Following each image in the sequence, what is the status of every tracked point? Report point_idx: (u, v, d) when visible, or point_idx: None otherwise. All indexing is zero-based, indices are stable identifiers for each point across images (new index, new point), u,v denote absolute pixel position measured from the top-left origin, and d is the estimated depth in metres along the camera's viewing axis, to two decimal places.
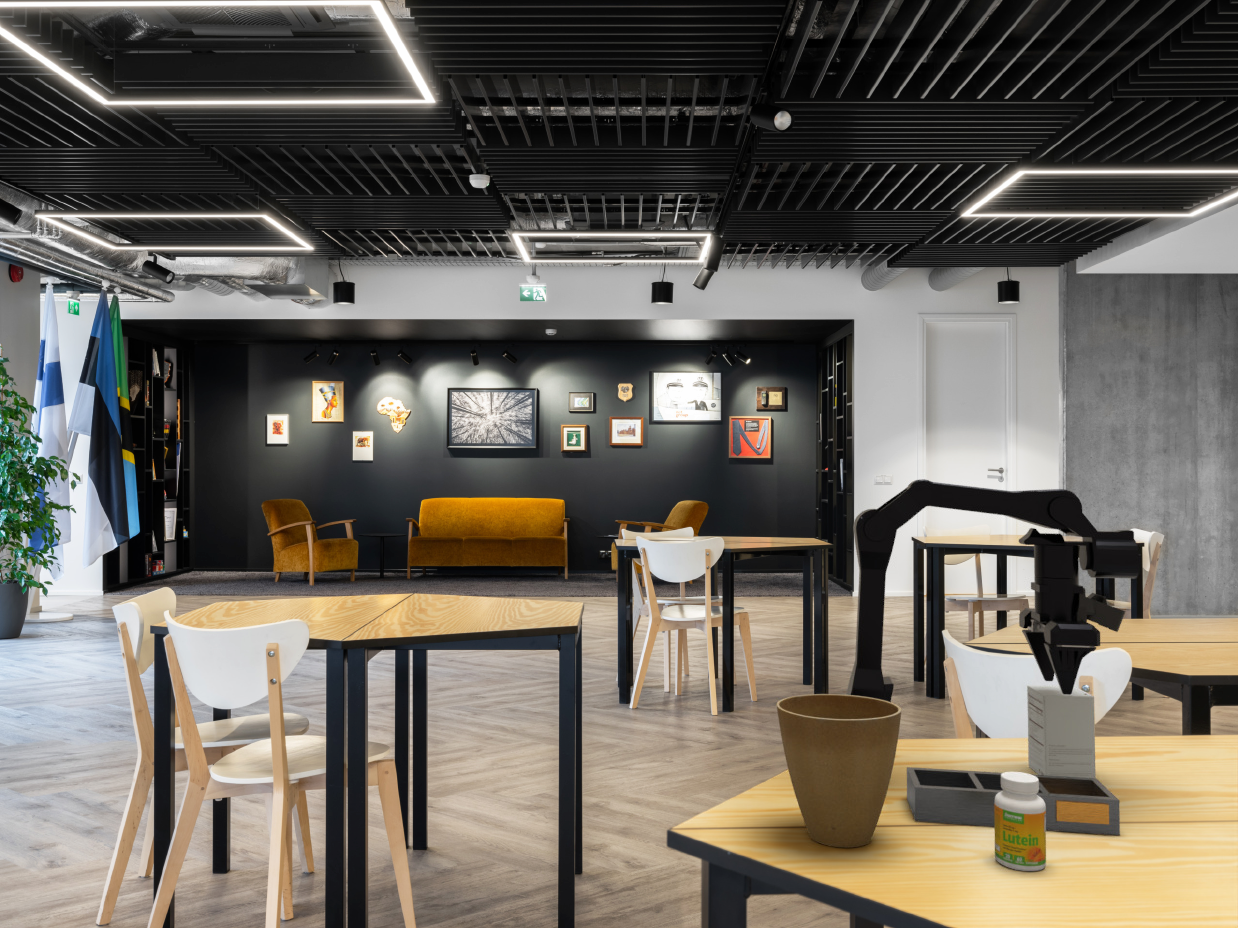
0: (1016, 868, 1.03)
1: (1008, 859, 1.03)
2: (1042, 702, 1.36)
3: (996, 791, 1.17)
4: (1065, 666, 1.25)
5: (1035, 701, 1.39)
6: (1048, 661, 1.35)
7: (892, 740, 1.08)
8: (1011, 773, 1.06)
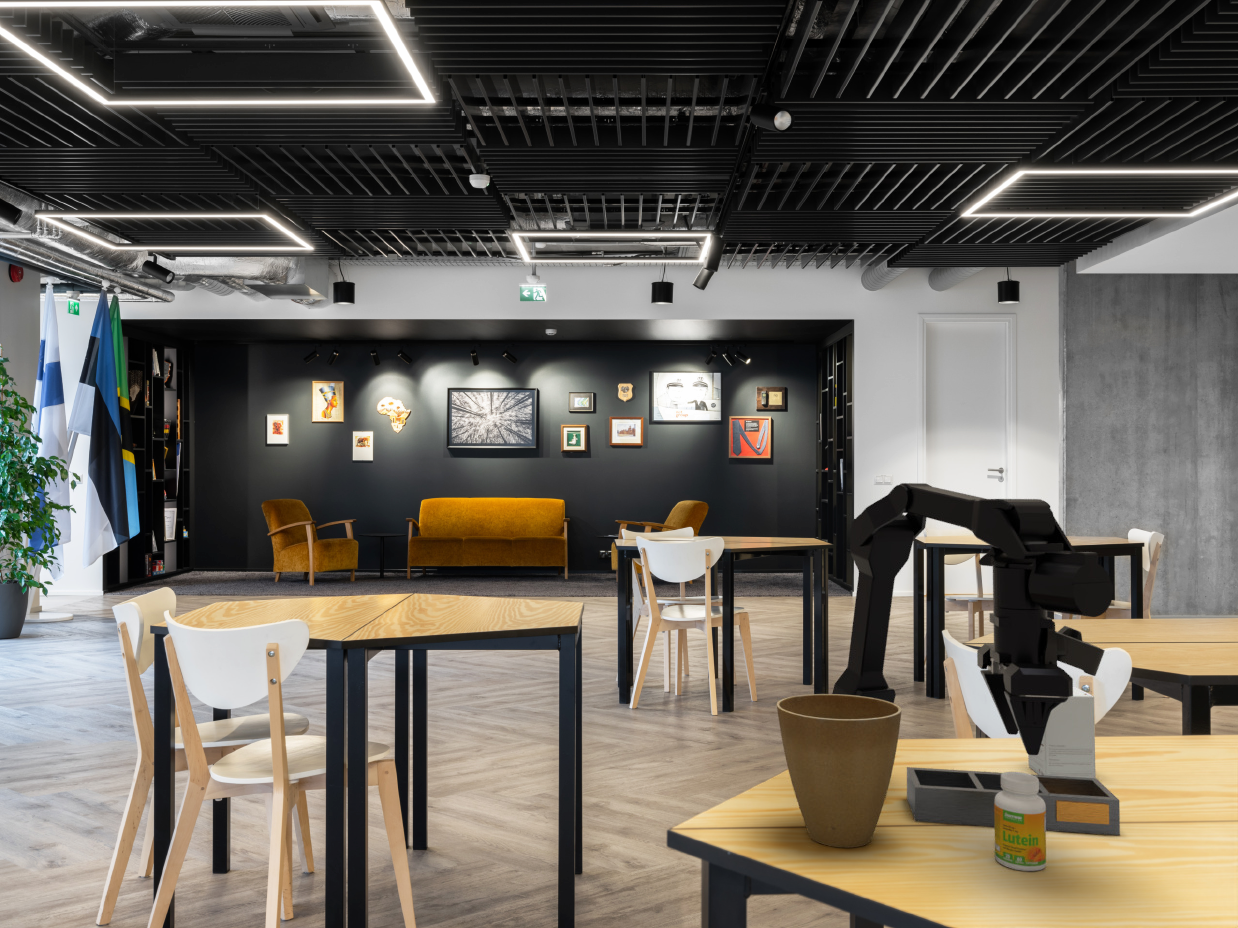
0: (1016, 868, 1.03)
1: (1008, 859, 1.03)
2: None
3: (996, 791, 1.17)
4: (1030, 720, 1.00)
5: None
6: (1011, 710, 1.10)
7: (892, 740, 1.08)
8: (1011, 773, 1.06)
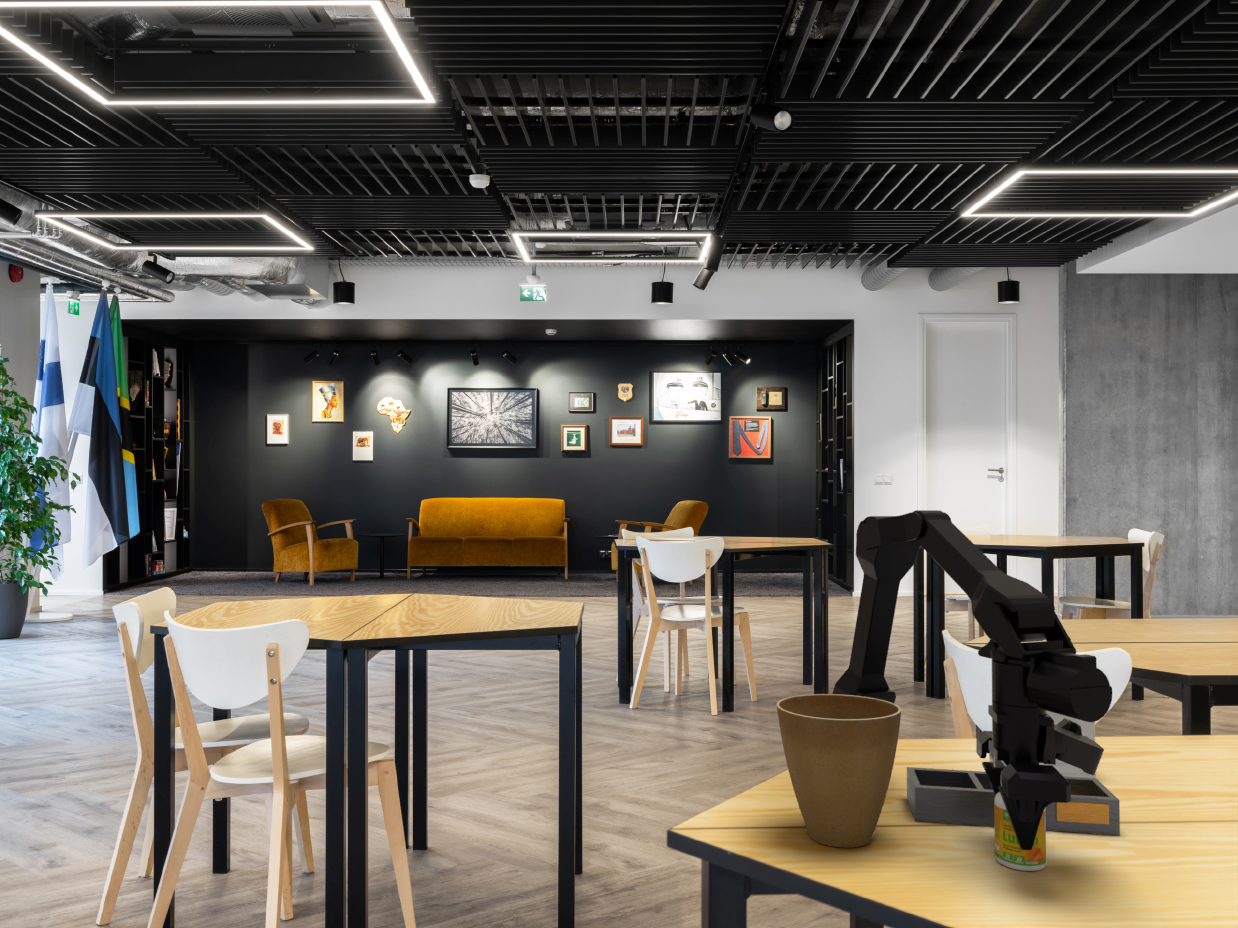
0: (1016, 868, 1.03)
1: (1008, 859, 1.03)
2: None
3: None
4: (1024, 816, 1.01)
5: None
6: None
7: (892, 740, 1.08)
8: None
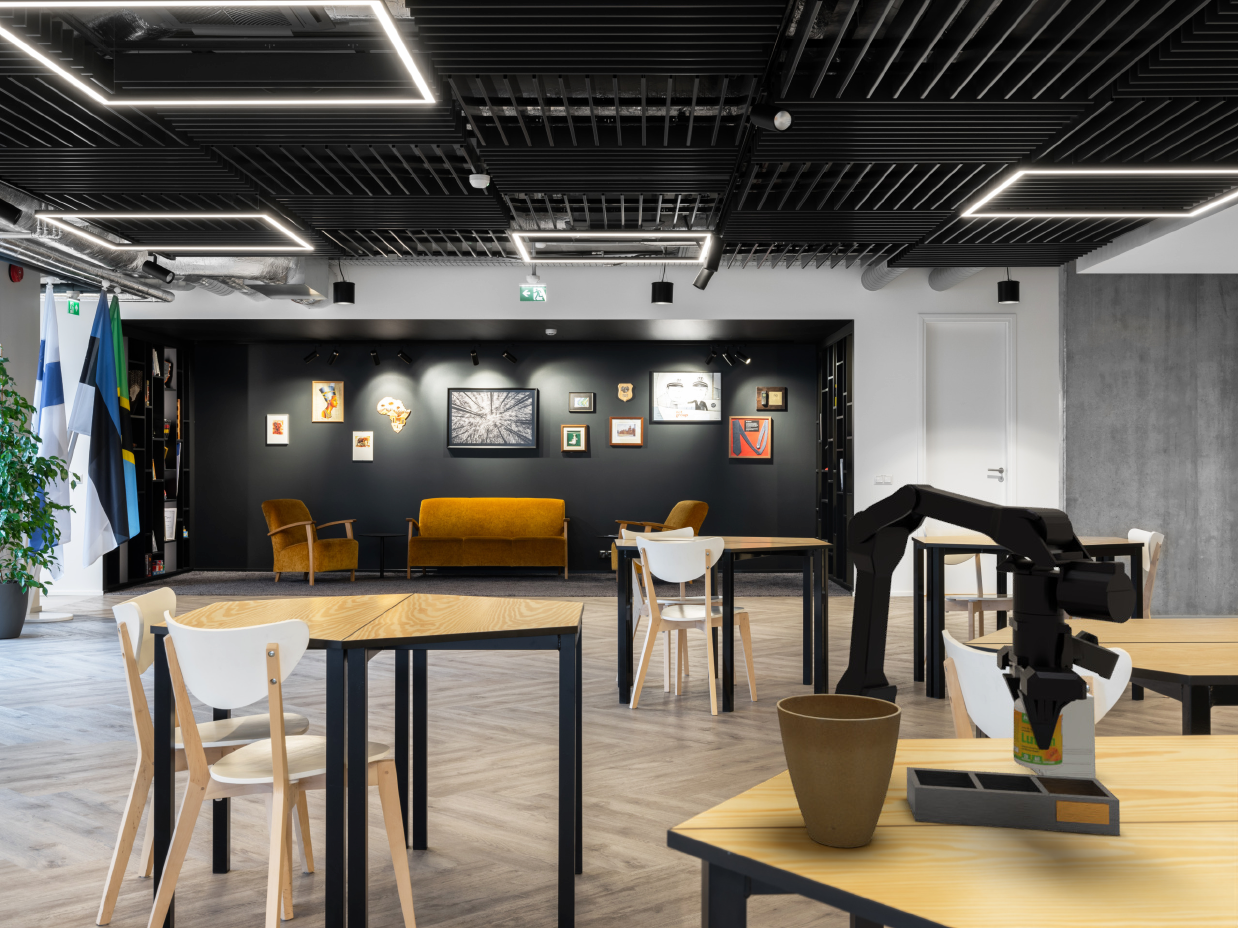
0: (1034, 767, 1.08)
1: (1026, 759, 1.09)
2: None
3: (996, 791, 1.17)
4: (1041, 717, 1.07)
5: None
6: None
7: (892, 740, 1.08)
8: None
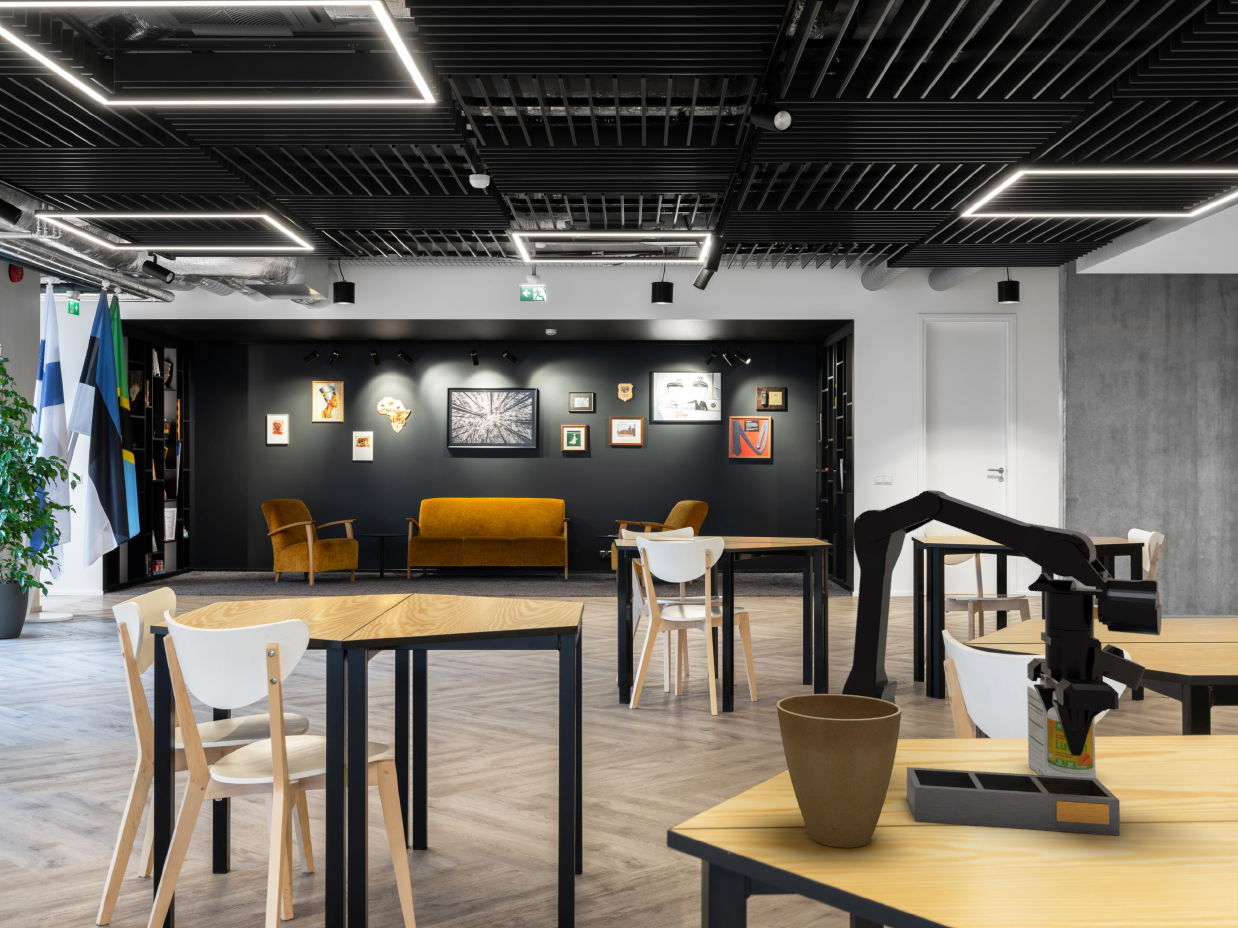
0: (1067, 772, 1.17)
1: (1060, 764, 1.17)
2: None
3: (996, 791, 1.17)
4: (1075, 725, 1.15)
5: (1035, 701, 1.39)
6: None
7: (892, 740, 1.08)
8: None
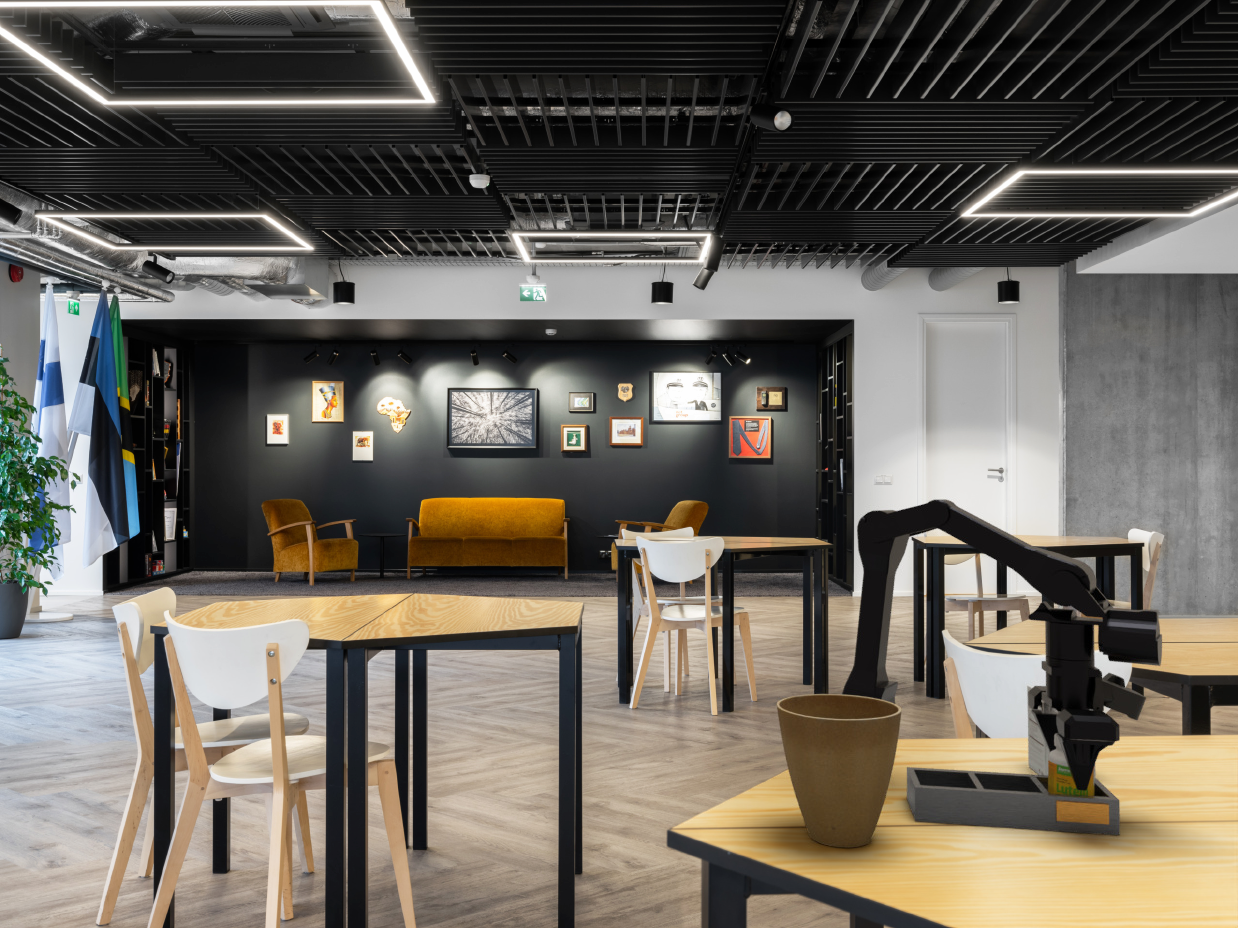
0: None
1: None
2: None
3: (996, 791, 1.17)
4: (1080, 760, 1.13)
5: None
6: None
7: (892, 740, 1.08)
8: None
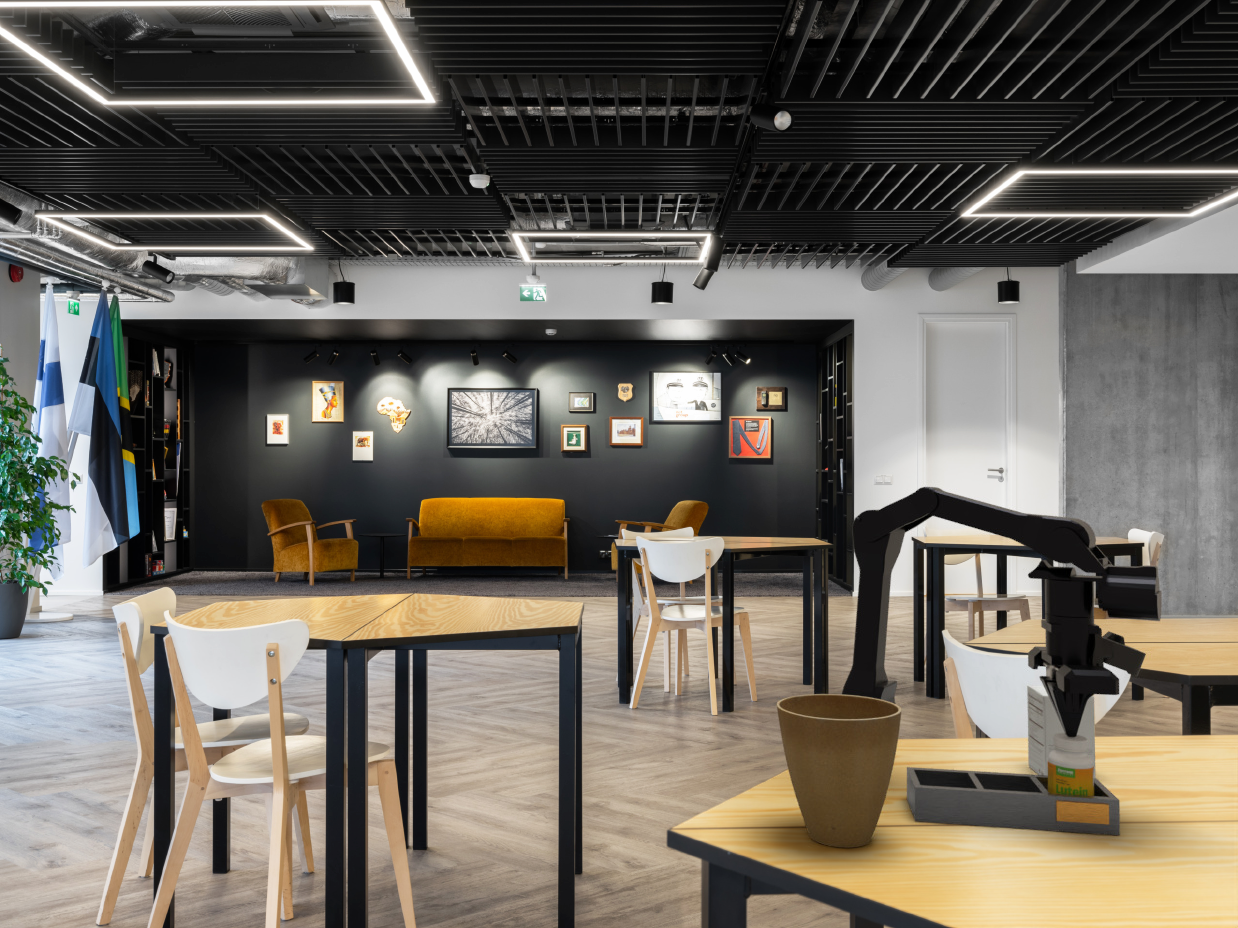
0: None
1: None
2: (1042, 702, 1.36)
3: (996, 791, 1.17)
4: (1069, 707, 1.18)
5: (1035, 701, 1.39)
6: None
7: (892, 740, 1.08)
8: (1062, 734, 1.20)
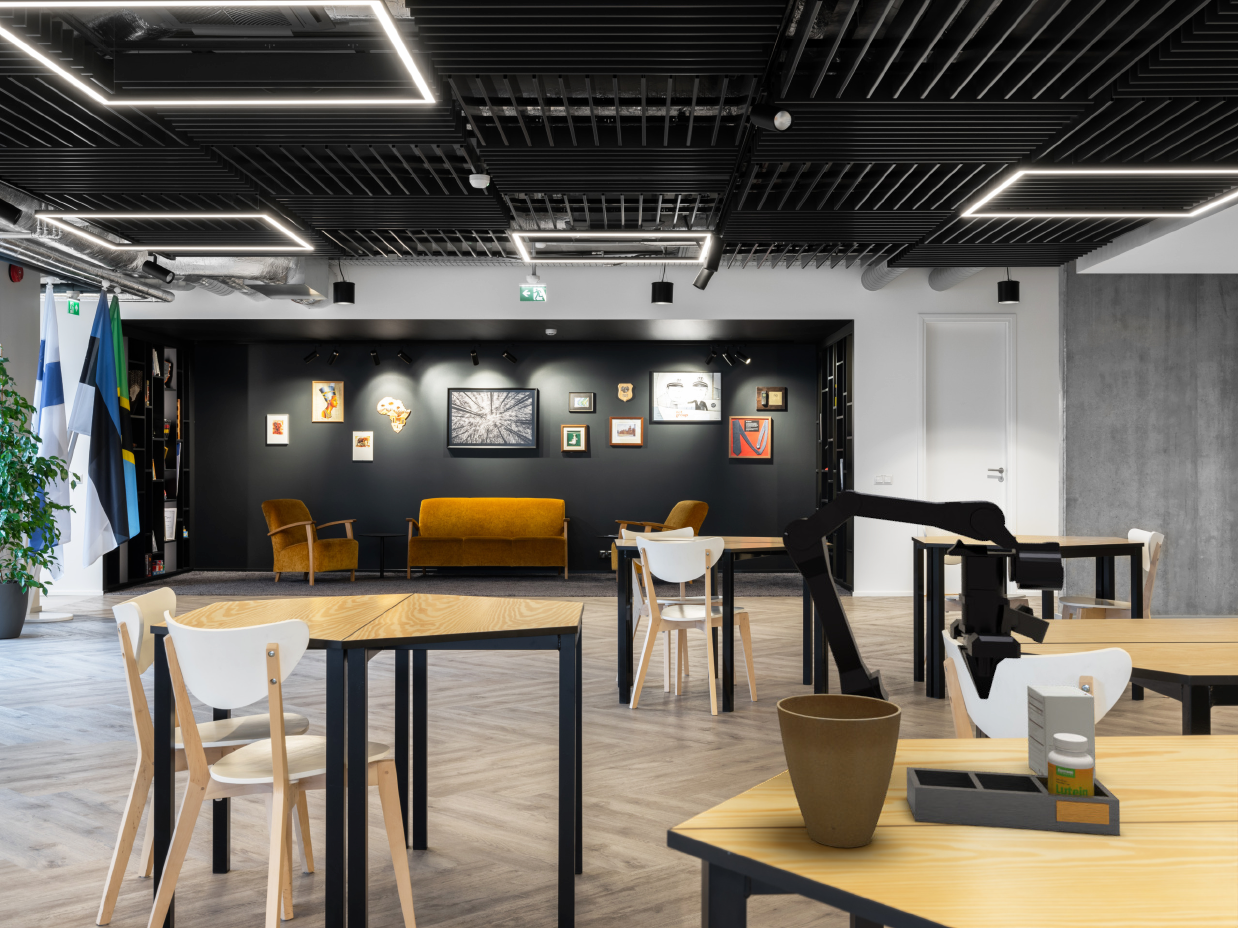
0: None
1: None
2: (1042, 702, 1.36)
3: (996, 791, 1.17)
4: (981, 672, 1.29)
5: (1035, 701, 1.39)
6: None
7: (892, 740, 1.08)
8: (1062, 734, 1.20)
